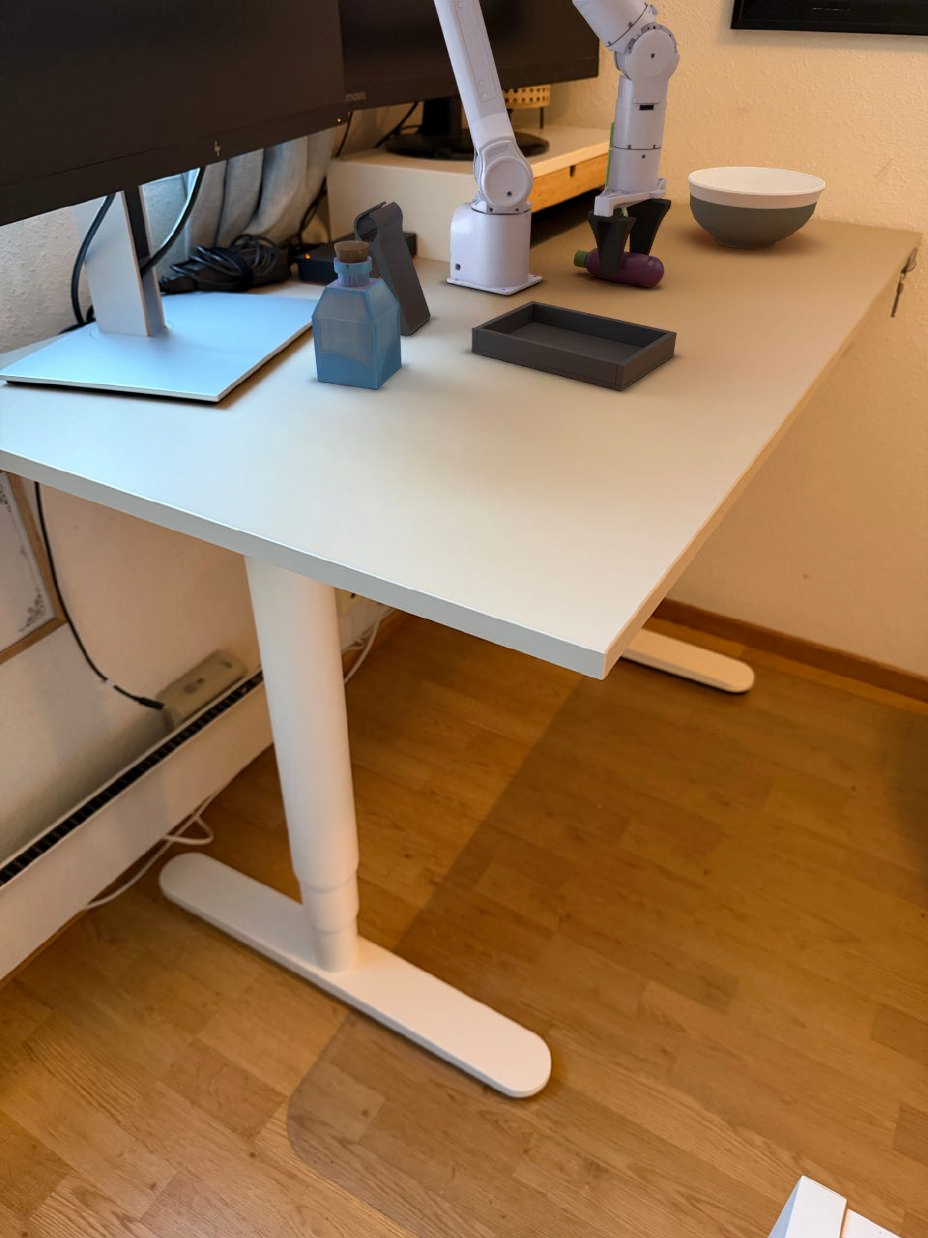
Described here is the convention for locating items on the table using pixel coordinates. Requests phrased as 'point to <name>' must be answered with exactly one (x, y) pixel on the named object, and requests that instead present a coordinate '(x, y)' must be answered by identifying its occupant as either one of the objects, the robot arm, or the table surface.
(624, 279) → the eggplant
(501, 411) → the table surface
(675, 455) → the table surface
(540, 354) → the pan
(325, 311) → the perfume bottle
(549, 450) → the table surface
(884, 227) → the table surface
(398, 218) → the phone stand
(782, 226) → the bowl
